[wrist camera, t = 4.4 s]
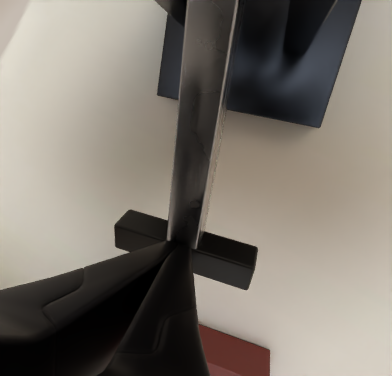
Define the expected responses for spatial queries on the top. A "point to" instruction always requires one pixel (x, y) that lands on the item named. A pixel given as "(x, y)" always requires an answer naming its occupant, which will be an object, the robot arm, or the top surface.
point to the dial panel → (233, 355)
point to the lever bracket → (274, 56)
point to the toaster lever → (199, 149)
